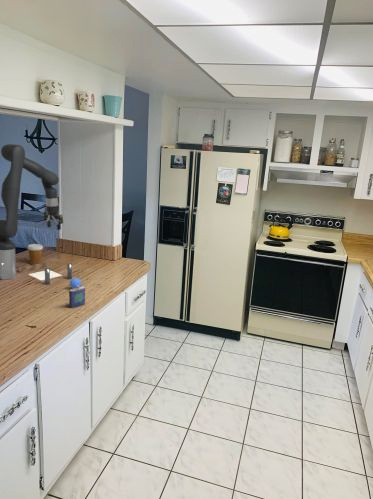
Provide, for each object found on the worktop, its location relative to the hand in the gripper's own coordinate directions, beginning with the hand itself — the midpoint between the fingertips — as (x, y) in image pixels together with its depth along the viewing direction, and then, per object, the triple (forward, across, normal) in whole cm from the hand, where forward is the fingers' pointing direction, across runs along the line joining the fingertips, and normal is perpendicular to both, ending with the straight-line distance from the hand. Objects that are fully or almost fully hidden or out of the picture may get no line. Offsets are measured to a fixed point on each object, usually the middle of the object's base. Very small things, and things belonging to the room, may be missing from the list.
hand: (54, 228), depth 254 cm
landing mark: (+19, +17, -26) cm, 36 cm away
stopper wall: (+20, +3, -23) cm, 31 cm away
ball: (+15, +46, -31) cm, 58 cm away
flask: (+15, +63, -48) cm, 81 cm away
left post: (+18, +29, -36) cm, 49 cm away
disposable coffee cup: (+22, -5, -13) cm, 26 cm away
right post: (+19, +32, -22) cm, 43 cm away
